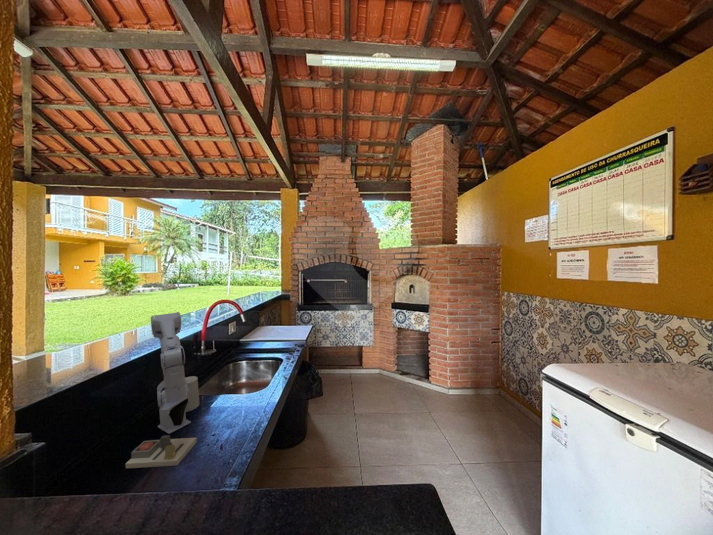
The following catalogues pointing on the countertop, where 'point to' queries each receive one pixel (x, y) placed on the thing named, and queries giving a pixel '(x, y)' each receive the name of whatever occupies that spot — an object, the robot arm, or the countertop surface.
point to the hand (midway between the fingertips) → (178, 424)
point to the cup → (192, 393)
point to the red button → (146, 446)
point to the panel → (160, 454)
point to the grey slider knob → (165, 441)
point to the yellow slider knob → (170, 452)
